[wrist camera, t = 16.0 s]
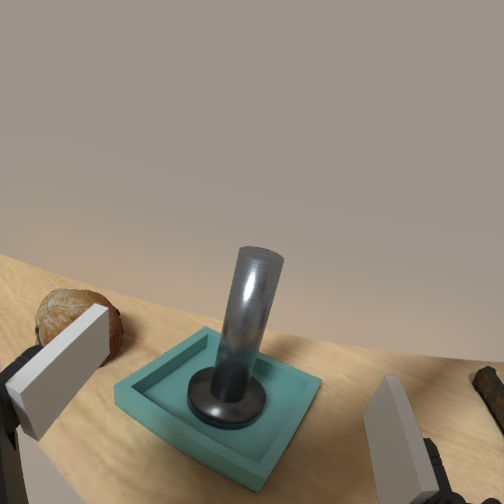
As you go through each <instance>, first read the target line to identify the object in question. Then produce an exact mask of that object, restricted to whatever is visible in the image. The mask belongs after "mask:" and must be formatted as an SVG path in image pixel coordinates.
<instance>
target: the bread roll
mask: <svg viewBox="0 0 504 504" xmlns="http://www.w3.org/2000/svg"><path fill="white" fill-rule="evenodd" d="M95 303H96V304H99V305H102V306H104V307H107V308H109V349H110V354H109V355H108V356H107V358H106V359H105V360H104V361H103V362H102V364H101V365H103V364H104V363H105V362H107V361H108V360H109V359H111V358H112V357H113V356H114V355H115V354H116V353H117V352H118V350H119V347H120V346H121V344H122V336H123V333H124V330H123V326H122V323H121V320H122V319H120V318H119V315H120V312H119V310H118V309H116V308H115V307H114V306H113V305H112V304H111V303H110V302H109V301H108V300H107V299H106V297H104V296H103V295H101V294H100V293H97V292H92V291H90V290H67V289H56V290H54V291H52V292H50V293H49V294H48V295H46V297H45V298H44V300H43V301H42V303H41V305H40V307H39V308H38V312H37V314H36V316H35V320H36V327H35V334H36V335H37V339H36V342H35V345H38V344H39V345H41V346H43V347H45V346H46V345H48V344H49V343H50V342H51V341H52V340H53V339H54V338H55V337H57V336H58V335H59V334H60V333H61V332H62V331H63V330H65V329H66V328H67V327H68V326H69V325H70V324H71V323H73V322H74V321H75V320H76V319H77V318H78V317H80V316H81V315H82V314H83V313H84V312H85V311H87V310H88V309H89V308H90V307H91V306H93V305H94V304H95ZM101 365H100V366H101ZM100 366H99V367H100Z"/></svg>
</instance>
